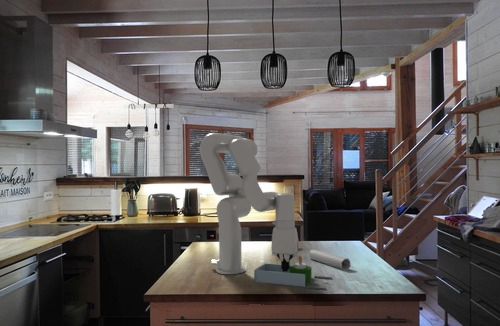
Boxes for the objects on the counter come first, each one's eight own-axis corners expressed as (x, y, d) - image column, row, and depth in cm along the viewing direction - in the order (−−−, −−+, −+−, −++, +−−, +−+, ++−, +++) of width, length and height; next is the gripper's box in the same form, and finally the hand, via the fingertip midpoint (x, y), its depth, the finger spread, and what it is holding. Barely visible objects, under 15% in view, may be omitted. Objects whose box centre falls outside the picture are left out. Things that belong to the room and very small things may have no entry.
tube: (305, 251, 199) (339, 261, 177) (313, 246, 202) (348, 256, 180) (308, 261, 200) (343, 272, 178) (316, 256, 203) (352, 267, 181)
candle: (315, 281, 162) (315, 255, 162) (301, 285, 156) (301, 259, 156) (299, 277, 168) (298, 252, 168) (285, 281, 162) (285, 255, 162)
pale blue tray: (254, 281, 162) (254, 270, 162) (264, 273, 174) (264, 262, 174) (304, 286, 155) (304, 274, 155) (311, 277, 167) (311, 266, 167)
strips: (306, 288, 154) (306, 286, 154) (314, 277, 168) (314, 275, 168) (325, 289, 151) (325, 288, 151) (332, 278, 166) (332, 277, 166)
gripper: (264, 225, 163) (264, 271, 163) (301, 226, 158) (301, 275, 158) (269, 222, 170) (270, 267, 170) (305, 223, 165) (306, 270, 165)
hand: (285, 270), depth 164 cm, fingers closed
